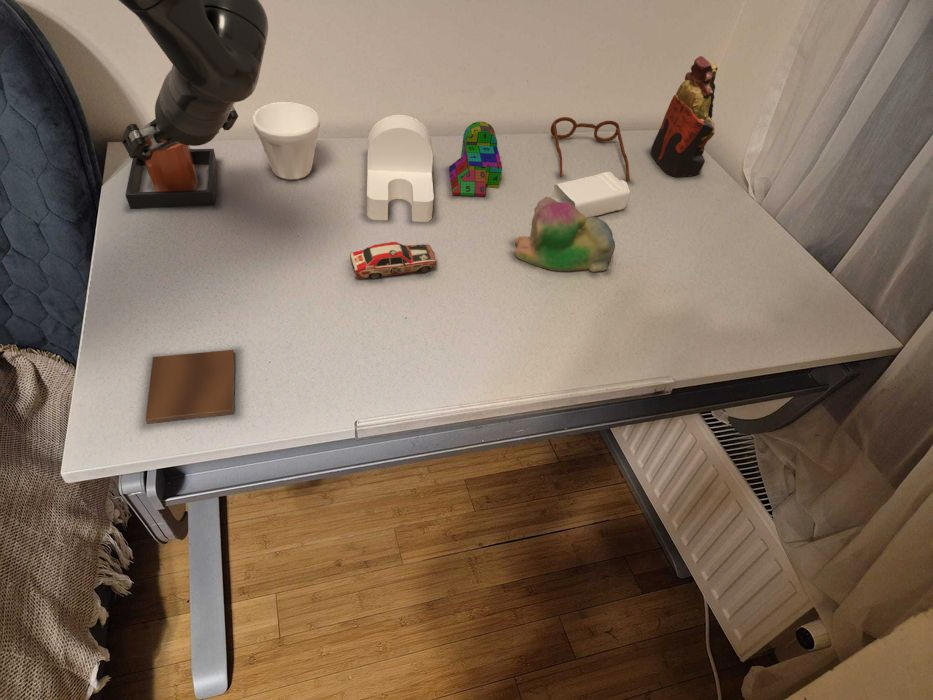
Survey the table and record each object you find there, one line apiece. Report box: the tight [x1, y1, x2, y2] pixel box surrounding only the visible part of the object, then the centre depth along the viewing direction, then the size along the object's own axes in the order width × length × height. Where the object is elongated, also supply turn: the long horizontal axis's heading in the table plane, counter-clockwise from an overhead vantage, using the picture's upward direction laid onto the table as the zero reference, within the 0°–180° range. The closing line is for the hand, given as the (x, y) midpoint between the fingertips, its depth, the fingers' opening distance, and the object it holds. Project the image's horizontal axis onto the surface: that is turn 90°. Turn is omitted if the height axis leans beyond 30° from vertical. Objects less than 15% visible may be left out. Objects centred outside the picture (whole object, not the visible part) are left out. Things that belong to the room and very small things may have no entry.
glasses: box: [550, 116, 631, 182], centre depth 111 cm, size 13×13×5 cm
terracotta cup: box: [145, 138, 199, 192], centre depth 91 cm, size 6×6×8 cm
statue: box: [650, 55, 719, 178], centre depth 109 cm, size 12×8×20 cm, turn 12°
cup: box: [251, 101, 321, 181], centre depth 97 cm, size 10×10×9 cm
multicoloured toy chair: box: [448, 121, 503, 198], centre depth 103 cm, size 12×8×7 cm
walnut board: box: [144, 349, 235, 424], centre depth 71 cm, size 9×9×1 cm
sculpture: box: [514, 196, 616, 273], centre depth 90 cm, size 15×8×10 cm, turn 104°
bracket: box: [366, 114, 435, 223], centre depth 97 cm, size 19×10×11 cm, turn 5°
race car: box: [349, 241, 437, 280], centre depth 87 cm, size 5×12×5 cm, turn 102°
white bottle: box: [550, 171, 631, 217], centre depth 102 cm, size 6×13×4 cm, turn 118°
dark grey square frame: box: [125, 148, 218, 210], centre depth 93 cm, size 12×12×2 cm
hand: (173, 144), depth 87 cm, fingers open, 8 cm apart
